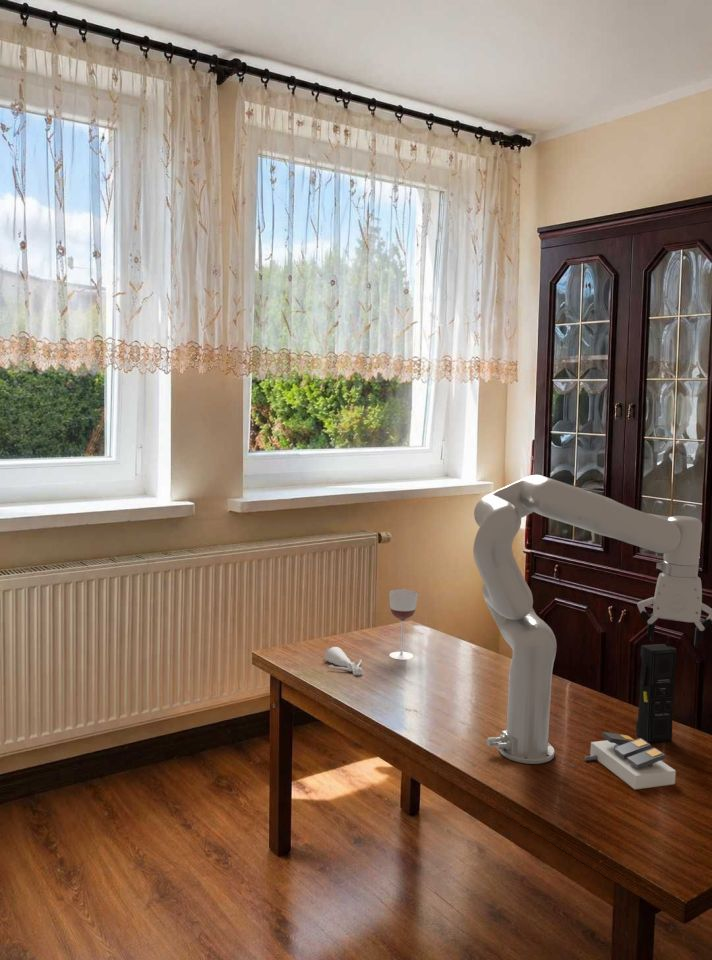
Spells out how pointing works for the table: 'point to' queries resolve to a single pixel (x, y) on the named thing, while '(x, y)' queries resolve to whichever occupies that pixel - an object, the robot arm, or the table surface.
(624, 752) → the rocker middle
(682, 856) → the table surface
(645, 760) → the rocker far end
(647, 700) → the portable radio
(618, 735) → the rocker near arm
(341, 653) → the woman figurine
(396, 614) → the wineglass
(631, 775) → the rocker switch panel
